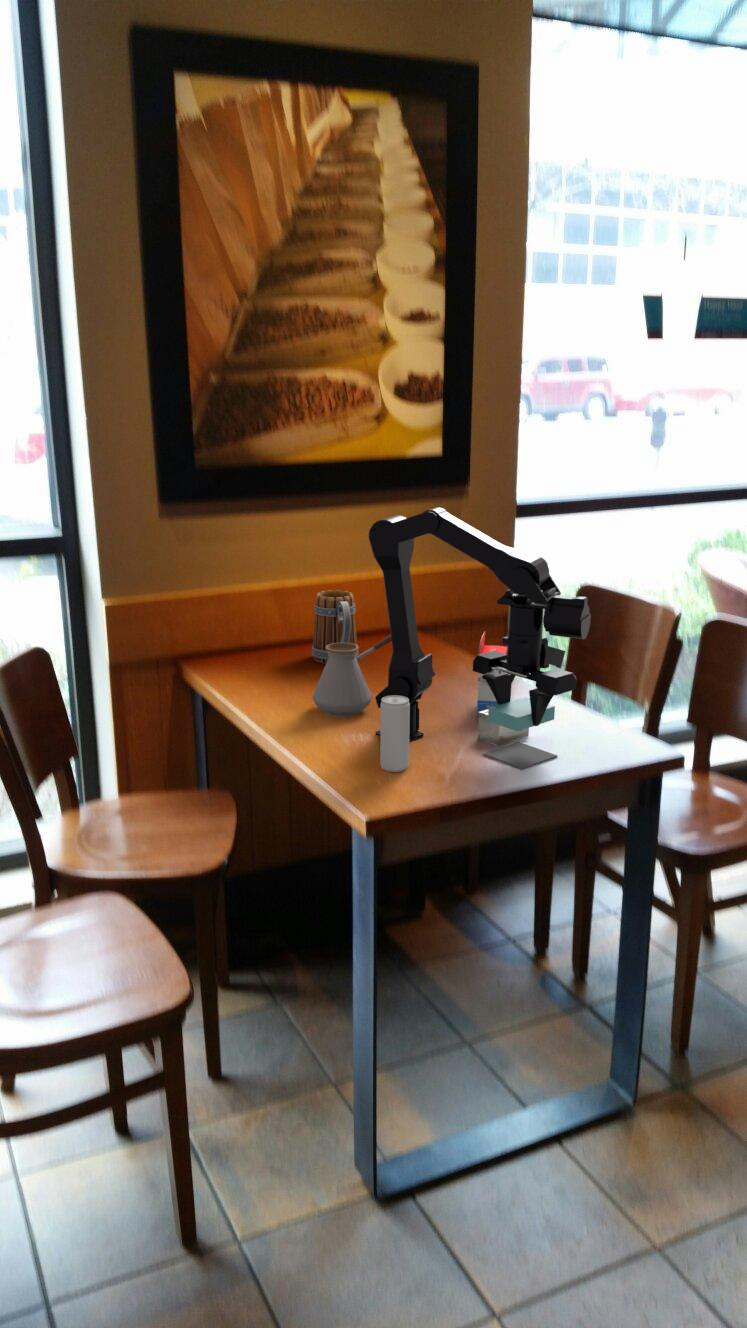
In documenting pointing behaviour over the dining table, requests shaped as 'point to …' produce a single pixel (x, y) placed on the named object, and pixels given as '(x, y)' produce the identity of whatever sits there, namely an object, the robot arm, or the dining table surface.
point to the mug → (333, 622)
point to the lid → (517, 714)
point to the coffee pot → (344, 681)
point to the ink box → (484, 691)
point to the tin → (497, 731)
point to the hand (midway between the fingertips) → (520, 720)
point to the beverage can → (394, 733)
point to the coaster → (520, 755)
